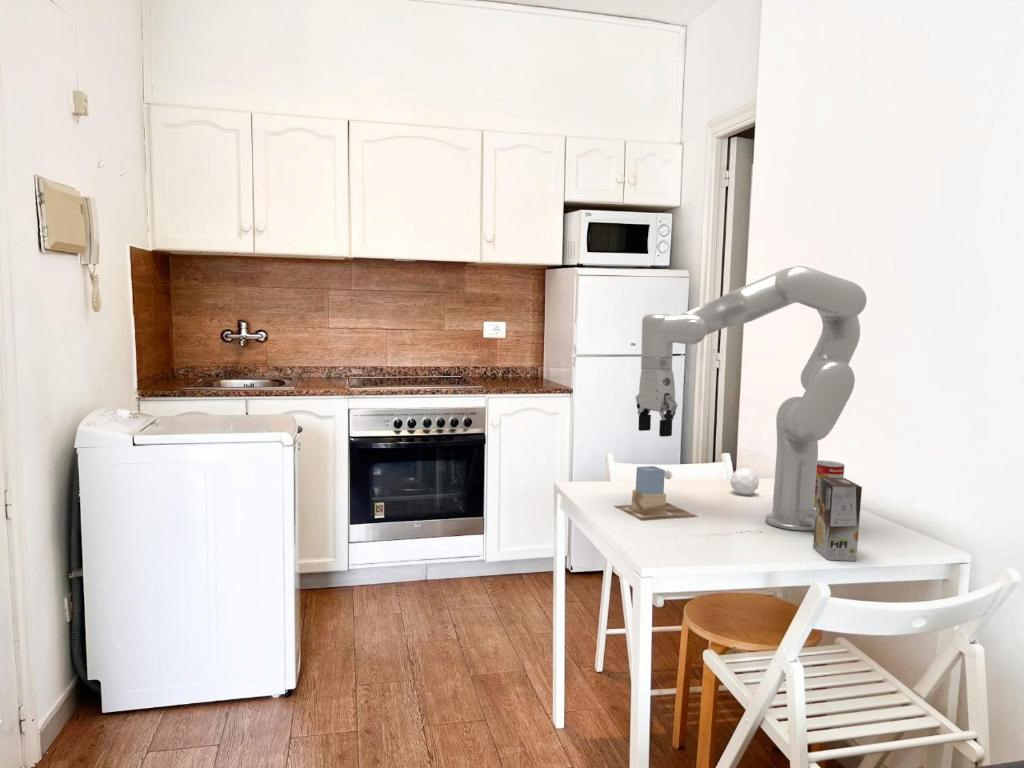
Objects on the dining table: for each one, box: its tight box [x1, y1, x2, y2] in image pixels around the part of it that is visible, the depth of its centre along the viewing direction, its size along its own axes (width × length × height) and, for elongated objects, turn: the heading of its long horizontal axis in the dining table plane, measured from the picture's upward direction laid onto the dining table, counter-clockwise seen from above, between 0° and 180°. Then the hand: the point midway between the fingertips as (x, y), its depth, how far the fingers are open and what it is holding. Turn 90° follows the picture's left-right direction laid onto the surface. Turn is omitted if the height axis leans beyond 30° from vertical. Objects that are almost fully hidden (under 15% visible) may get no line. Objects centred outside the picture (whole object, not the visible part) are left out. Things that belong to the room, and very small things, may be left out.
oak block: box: [631, 489, 667, 515], centre depth 188 cm, size 6×6×5 cm
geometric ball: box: [730, 467, 760, 496], centre depth 217 cm, size 8×8×8 cm
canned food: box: [814, 459, 845, 508], centre depth 206 cm, size 8×8×12 cm
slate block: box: [635, 465, 666, 495], centre depth 187 cm, size 5×5×6 cm
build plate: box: [613, 502, 699, 522], centre depth 189 cm, size 14×16×1 cm
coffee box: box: [812, 477, 863, 562], centre depth 162 cm, size 9×6×16 cm
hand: (654, 433), depth 186 cm, fingers open, 9 cm apart
